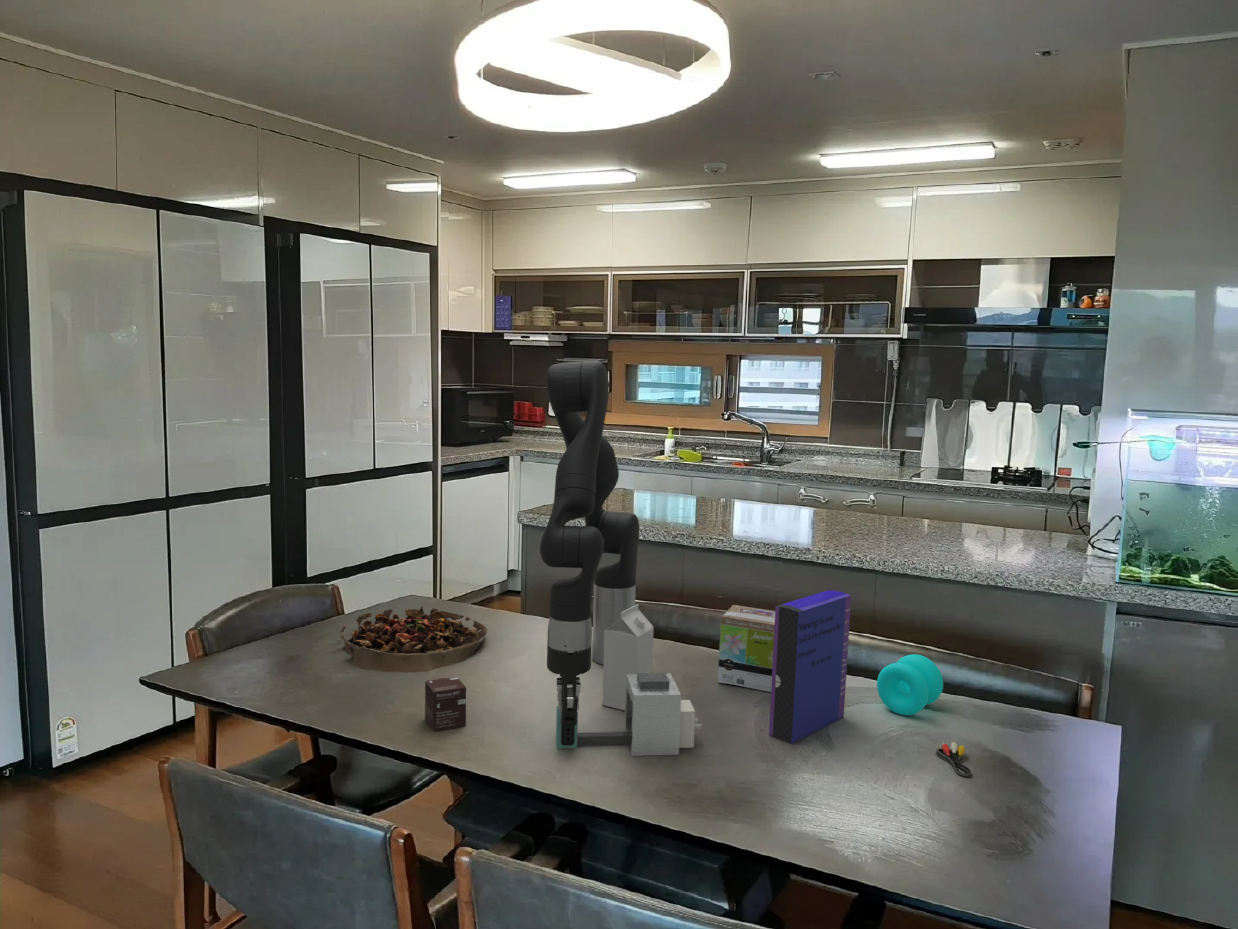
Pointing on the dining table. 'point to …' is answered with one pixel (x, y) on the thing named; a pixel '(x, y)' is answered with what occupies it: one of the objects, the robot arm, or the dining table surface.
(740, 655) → the tea box
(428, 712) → the box
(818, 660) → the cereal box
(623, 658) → the milk carton
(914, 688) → the turquoise yo-yo
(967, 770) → the composite cable
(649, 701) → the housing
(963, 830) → the dining table surface
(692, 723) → the plug
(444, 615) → the potpourri bowl
